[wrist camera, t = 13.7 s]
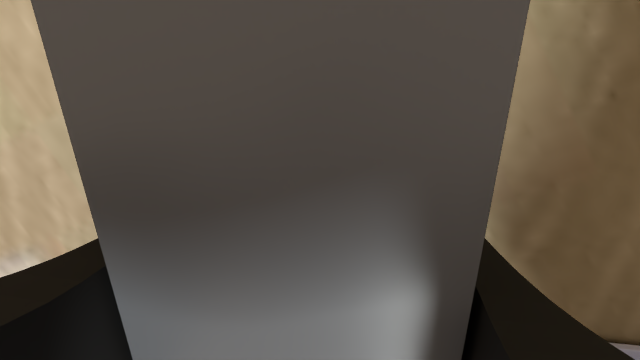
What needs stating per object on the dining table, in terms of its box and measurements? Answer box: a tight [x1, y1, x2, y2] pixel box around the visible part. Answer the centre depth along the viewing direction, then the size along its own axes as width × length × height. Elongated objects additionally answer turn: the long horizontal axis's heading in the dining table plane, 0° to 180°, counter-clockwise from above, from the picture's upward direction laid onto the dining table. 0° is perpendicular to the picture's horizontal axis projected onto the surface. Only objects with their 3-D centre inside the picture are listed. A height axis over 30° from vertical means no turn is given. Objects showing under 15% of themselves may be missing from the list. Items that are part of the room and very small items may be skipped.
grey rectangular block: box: [31, 0, 530, 360], centre depth 10 cm, size 6×12×6 cm, turn 0°
